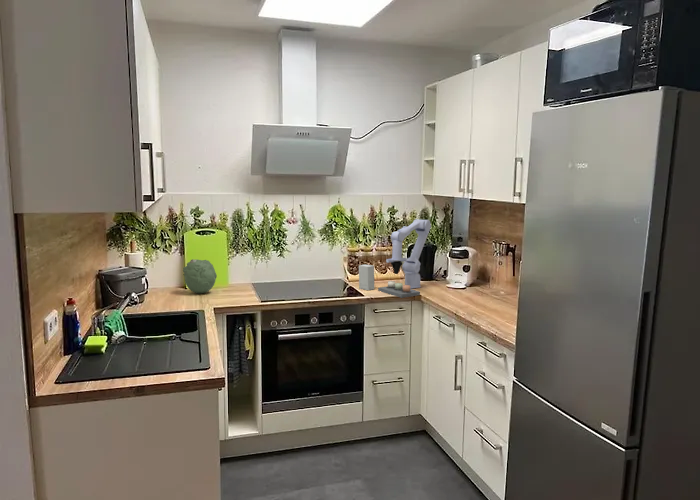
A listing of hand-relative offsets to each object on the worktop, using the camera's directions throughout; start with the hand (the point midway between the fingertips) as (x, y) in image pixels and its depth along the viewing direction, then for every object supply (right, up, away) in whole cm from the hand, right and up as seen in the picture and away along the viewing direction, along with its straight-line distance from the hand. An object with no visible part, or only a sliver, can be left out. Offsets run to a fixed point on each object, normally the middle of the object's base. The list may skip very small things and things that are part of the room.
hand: (396, 273), depth 307 cm
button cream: (-3, -8, 0) cm, 8 cm away
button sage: (+1, -9, -5) cm, 10 cm away
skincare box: (-18, -10, +5) cm, 21 cm away
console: (+1, -11, -5) cm, 12 cm away
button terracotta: (+5, -9, -11) cm, 15 cm away
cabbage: (-115, -11, -13) cm, 116 cm away
